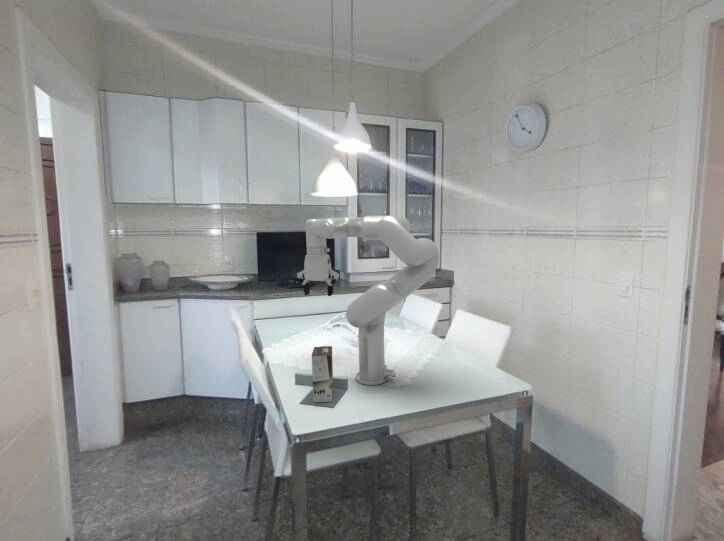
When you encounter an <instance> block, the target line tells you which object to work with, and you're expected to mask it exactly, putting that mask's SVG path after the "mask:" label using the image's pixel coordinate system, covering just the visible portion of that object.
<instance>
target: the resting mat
mask: <svg viewBox="0 0 724 541" xmlns="http://www.w3.org/2000/svg"><path fill="white" fill-rule="evenodd" d="M346 393H347V390H339V389H333V397H332V402H313V388H312V389H311V390H310V391H309V392H308V393H307V395H305V397H303V399H302V400H301V401H300V402H299V404H300V405H305V406H306V405H307V406H313V407H323V408H329V409H335V407H336V406H337V404H338V403H339V402H340V400H341V399H342V398H343V397H344V396H345V394H346Z"/></svg>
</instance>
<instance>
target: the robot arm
mask: <svg viewBox="0 0 724 541" xmlns="http://www.w3.org/2000/svg"><path fill="white" fill-rule="evenodd" d="M410 230H411V224H410V221H409V220H408V218H406V216H404V215H399V214H397V215H396V214H395V215H394V214H393V215H392V214H391V215H364V216H361V217H360V216H359V217H358V216H357V217H353V216H350V217H328V218H327V217H325V218H309V219H306V221H305V238H306V239H305V240H306V242H305V243H306V255H305V257H304V264H303V267H304V268H303V269H302V270H301V271H299V272H297V273H296V276H297V278H298V280H299V282H300V283H301V284H302V286H303V293H304V296H308V295H309V294H310V293H311V292H310V290H311V289H310V288H311V287H310V282H311V281H313V282H326V283H327V296H328V297H331V296H332V295H333V294H334V285H335V284H336V282H337V281H338V279H339V277H340V274H339V273H338V272H336V271H334V270H333V269H332V263H331V258H330V254H328V252H331V249H330V248H328V246H327V239H332V240H333V239H337V238H338V239H339V238H362V239H363V240H365V241H381V242H382V243H383V244H384V245H385V246H386V247H387V248H388V249H389V250H390V251H391V252H392V253H393V254H394V256H396V257H397V258H398V259H399V260H400V262H402V263H403V264H405V265H407V266H405V267H404V268H402V269H400V271H398V272H397V273H396V274H394V275H393V276H392V277H391V278H388V279H387V280H384V281H381V282H378V283H376V284H375V285H373V286H372V287H370V288H369V289H367V290H366V291H365V292H364V293H362V294H361V295H360V296H358V297H356V298H355V299H354V300H353V301H352V302H350V303H349V305H348V306H347V309H346V312H345V315H346V316H345V318H346V320H347V322H348V323H349V325H351V326H352V327H354V328H358V333H357V334H358V336H357V338H358V340H357V341H358V365H359V368H358V369H359V370H358V372H357V373H355V375H354V376H355V378H354V379H355V380H356V382H358V383H359V384H360V385H366V386H378V385H382V384H384V383H387V382H388V381H389V380H390V377H391V378H397V372H396V371H395V369H388V365H387V364H386V362H385V360H386V358H385V321H386V314H387V312H388V311H390V310H391V309H393V308H395V307H397V306H398V305H399V304H400V303H402V302H403V301H404V300H405V299H406V298H408V297H409V296H410V295H411V294H412V293H414V292H416V291H417V290H418V289H419V288H421V287H422V286H424V285H425V284H426V282H429V280H430V279H431V278H432V276H433V275H434V273H435V272H436V270H437V268H438V264H439V262H440V260H439V259H440V254H439V250H438V247H437V244H436V243H435V242H434V240H431V239H429V238H426V237H421V238H416V237H414V235H412V234H411V233H410ZM303 276H304V277H303ZM332 277H333V279H332Z"/></svg>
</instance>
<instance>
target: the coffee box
mask: <svg viewBox="0 0 724 541" xmlns="http://www.w3.org/2000/svg"><path fill="white" fill-rule="evenodd" d="M312 350H313V351H312V353H311V369H312V370H311V372H312V376H313V386H312V389H313V402H332V397H333V377H334V369H333V368H334V367H333V363H334V362H333V346H330V345H329V346H328V345H325V346H314V347H313V349H312Z"/></svg>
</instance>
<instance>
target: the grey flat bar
mask: <svg viewBox="0 0 724 541" xmlns="http://www.w3.org/2000/svg"><path fill="white" fill-rule="evenodd" d="M348 379H349V378H348V377H341V376H340V377H339V376H333V389H336V390H345V391H348V389H349V380H348ZM294 384H295V386H296V385H297V386H303V387H304V386H306V387H313V376H312V374H309V373H302V372H301V373H300V372H295V373H294Z"/></svg>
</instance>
